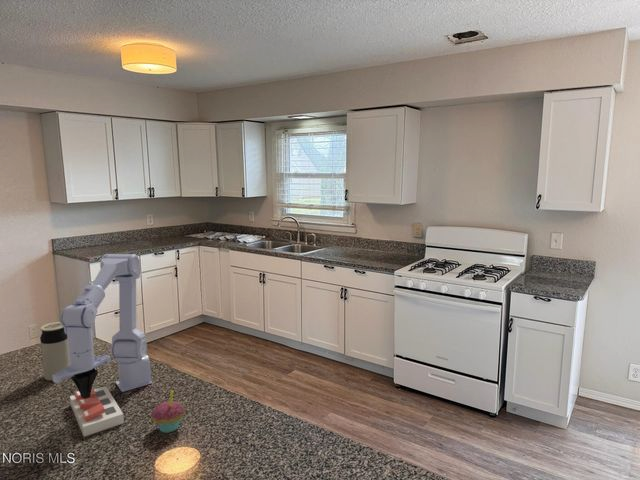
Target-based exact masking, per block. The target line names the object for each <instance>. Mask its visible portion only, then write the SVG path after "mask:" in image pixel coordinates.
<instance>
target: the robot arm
mask: <svg viewBox="0 0 640 480" xmlns="http://www.w3.org/2000/svg"><path fill="white" fill-rule="evenodd" d="M99 266H100V270H99V271H98V274H97V276H95V279H94V280H93V282H92V283H91V284H88V285H85V286H84V287H83V289H82V290H81V292H80V294H79V295H78V296H77V298H76V299H75V301H73V303H72V304H70V305H68V306H66V307H64V308H63V310H62V311H61V314H60V319H59V322H61V325H62V326H63V327H64V332H65V334H67V337H68V348H69V358H70V366H69V367H67V368H65V369H63V370H61V371H60V372H58V373H56V374H53V375H52V377H53V380H52V382H53V383H55V384H56V385H57V384H60V383H62V381H64V380H67V379H69V378H70V379H71V381H72V382H73V383H74V385H75V386H76V387H77V391H79V392H80V395H81V397H82V398H84V399H87V398H89V397H90V394H91V389H93V385H94V382H95V380H96V378H97V376H98V370H97V369H96V368H98V367H99V366H103V365H105V364H110V363H111V362H112V360H111V357H112V358H113V359H114V361H115V362H117V371H118V372H117V373H118V380H116V381H115V384H116V386H117V388H118V389H119V391H120V392H122V393H124V392H127V391H130V390H134V389H137V388H141V387H144V386H147V385H150V384H152V383H153V381H152V373H151V362H150V358H149V356H148V354H146V353H147V350H148V344H147V340H146V334H145V333H144V332H142V331H141V330H140V329H138V328H137V279H139V278H140V277H141V259H140V258H139V256H138V255H137V254H136V253H132V254H129V253H124V254H121V253H120V254H119V253H118V254H117V253H105V254H104V255H102V257H101V260H100V264H99ZM114 279H115V280H116V281H117V282H118V285H119V286H118V287H119V289H118V292H119V295H118V296H119V297H118V298H119V302H118V303H119V304H118V305H119V330H118V331H117V332H116V333H115V334H113V335H112V337H111V345H110V349H109V352H110V355H111V356H110V355H109V354H104V355H100V356H97V357H95V349H94V338H93V328H92V327H93V325H94V324H95V323H96V317H97V314H98V308H99V306H100V305H101V303H103V300H104V299H105V297H106V292H105V291H106V288H108V286H110V284H111V283H112V282H113V280H114Z"/></svg>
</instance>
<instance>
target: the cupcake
mask: <svg viewBox="0 0 640 480" xmlns="http://www.w3.org/2000/svg"><path fill="white" fill-rule="evenodd" d="M173 389H174V388H171V390H170V397H169V401H162V402H160V403H159V404H157V405H155V406H154V408H153V409H152V411H151V414H150V418H151V421H153V422H154V423H156V424H157V426H158V428H159V431H160V432H161V433H165V434H166V433H173V432H174V431H176V430H177V429H178V428H179V424H180V422H181V419H182V418H183V417H184V414H185V408H184V406H183V404H182V403H181V402H179V401H175V400H173V399H174V398H173V397H174V390H173Z"/></svg>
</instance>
